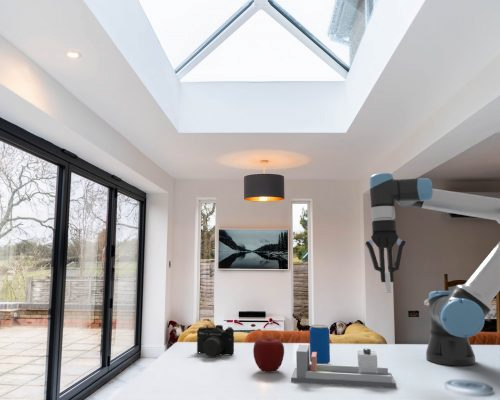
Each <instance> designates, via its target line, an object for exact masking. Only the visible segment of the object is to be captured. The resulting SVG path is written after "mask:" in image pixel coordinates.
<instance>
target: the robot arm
mask: <svg viewBox="0 0 500 400" xmlns="http://www.w3.org/2000/svg"><path fill="white" fill-rule="evenodd" d="M369 195H370V208H371V210H370V211H371V212H370V213H371V219H372V222H371V226H372V229H371V230H372V235H371V236H370V237H371V238H370V239H369V240H367V241H365V242H364V245H365V246H366V248H367V249H368V252H369V255H370V258H371V262H372V266H373V269H374V270H375V271H378V272H379V273H380V282H381V283H384V284H383V285H384V293H386V294H391V293H392V286H391V284H392V283H394V281H395V279H394V272H395V271H399V270H400V263H401V258H402V253H403V248H404V246H405V244H406V241H405V240H404V239H403V240H402V239H400V237H399V235H398V234H397V224H396V223H397V221H396V220H395V219H396V209H395V202H396V203H397V204H398V205H399V206H401V207H402V208H409V207H412V208H419V209H426V210H431V211H437V212H438V211H439V212H444V213H449V214H456V215H462V216H466V217H467V216H468V217H475V218H479V219H485V220H493V221H496V222H497V223H498V224H499V225H500V198H497V197H491V196H486V195H485V196H484V195H477V194H472V193H471V194H470V193H464V192H458V191H450V190H444V189H438V188H433V183H432V180H431V178H428V177H425V178H424V177H417V178H401V179H400V178H399V179H398V178H397V179H394V177H393V174H392V173H389V172H387V173H386V172H382V173H375V174H372V175H371V176H370V177H369ZM395 244H396V245H397V247H396V253H395V258H393V248H394V245H395ZM373 245H375V246H376V247H377V248H378V256H379V258H378V259H379V261H378V259H377V257H376V253H375V250H374V247H373ZM385 249H386V258H387V271H386V264H385V263H386V260H385ZM393 259H394V260H393ZM378 262H379V263H378ZM499 292H500V241H499V242H498V243H497V244H496V245H495V247H494V248H493V249H492V250H491V251H490V253H489V254H488V255H487V256H486V258H484V260H483V261H482V262H481V264H480V265H479V266H478V267H477V269H476V270H475V271H474V272H473V273H472V275H470V277H469V278H468V279H467V281H466V282H465V283H463V284H456V285H455V287H454V288H453V289H452V290H434V291H430V292H429V294H428V299H427V300H428V312H429V329H430V336H429V341H428V344H427V346H426V347H427V348H426V351H425V357H426V360H427V361H428V362H431V363H434V364H439V365H445V366H453V367H454V366H458V367H459V366H462V367H464V366H465V367H466V366H473V365H475V364H476V355H475V353H474V350H473V348H472V347H473V346H472V344H471V343H470V340H469V338H471V337H474V336H476V335H478V334H479V333H480V332H481V331H482V330H483V327H484V325H485V318H486V317H487V316H488V314H489V313H490V312H491V311H492V307H491V306H492V305H491V303H492V301H493V300H494V298H495V297H496V296H497V295H498V294H499Z"/></svg>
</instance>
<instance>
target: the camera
mask: <svg viewBox="0 0 500 400" xmlns="http://www.w3.org/2000/svg"><path fill="white" fill-rule="evenodd" d="M234 332H235V331H234V328H232V327H231V326H228V327H227V328H225V329H224V328H223V325H222V324H217V325H215V326H213V327H212V326H209V324H208V325H206V327H203V326H202V327H198V329H197V331H196V352H200V353H199V354H204V355H205V356H207V357H208V358H213V357H217V356H223V354H230V355H229V356H233V355H234V353H235V335H234ZM232 354H233V355H232Z"/></svg>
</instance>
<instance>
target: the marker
mask: <svg viewBox="0 0 500 400" xmlns="http://www.w3.org/2000/svg"><path fill="white" fill-rule="evenodd" d="M310 364H311V371H315V372H317V352H312V356H311V362H310Z"/></svg>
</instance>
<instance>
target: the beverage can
mask: <svg viewBox="0 0 500 400" xmlns="http://www.w3.org/2000/svg"><path fill="white" fill-rule="evenodd" d="M330 347H331V346H330V329H329V326H328V325H326V324H312V325H310V329H309V356H310V363H311V356H312V352H317V364H328V365H329V363H330V362H331V351H330V350H331V349H330Z"/></svg>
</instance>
